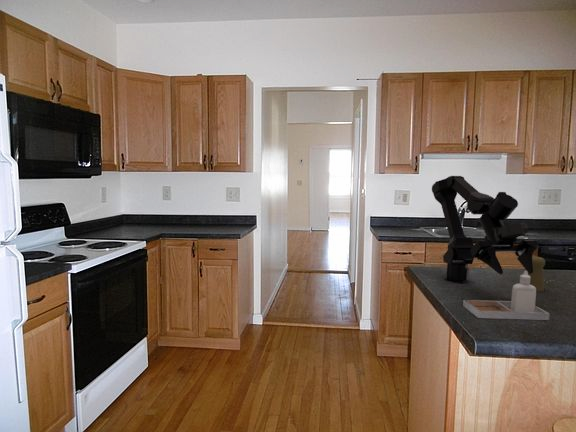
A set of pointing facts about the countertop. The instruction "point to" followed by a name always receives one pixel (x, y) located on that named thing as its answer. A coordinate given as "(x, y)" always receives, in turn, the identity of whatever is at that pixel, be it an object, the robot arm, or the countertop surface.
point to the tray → (501, 310)
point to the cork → (537, 273)
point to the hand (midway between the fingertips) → (516, 273)
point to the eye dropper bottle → (523, 295)
